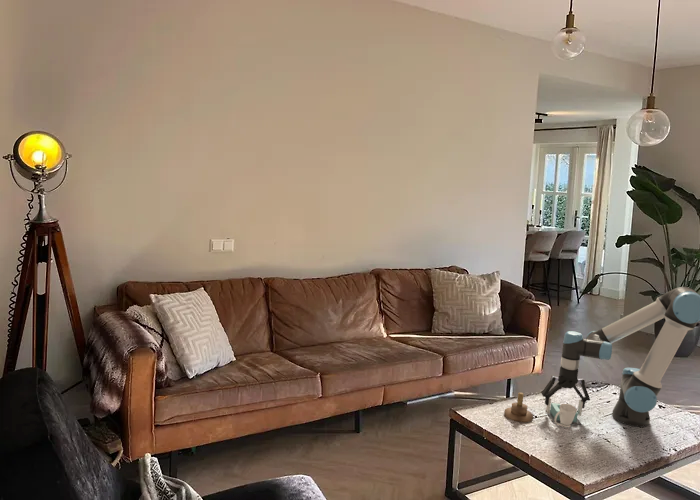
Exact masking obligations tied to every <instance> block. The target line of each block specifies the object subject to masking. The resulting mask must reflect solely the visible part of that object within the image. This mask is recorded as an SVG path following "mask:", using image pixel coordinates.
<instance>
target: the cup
mask: <svg viewBox="0 0 700 500" xmlns="http://www.w3.org/2000/svg"><path fill="white" fill-rule="evenodd" d="M576 412H577V413H578V408H576V406H574V405H572V404H569V403H561V404H560V411H559V412H558V413H557V414H556V416H555V419H554V421H555V424H557V425H558V426H559V427H563V428H570V427H571V426H572V424H571V423H572V421H573V419H574V417H575V414H576ZM559 414H560V421H561V422H560V423H557V422H556V419H557V416H558V415H559Z"/></svg>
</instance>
